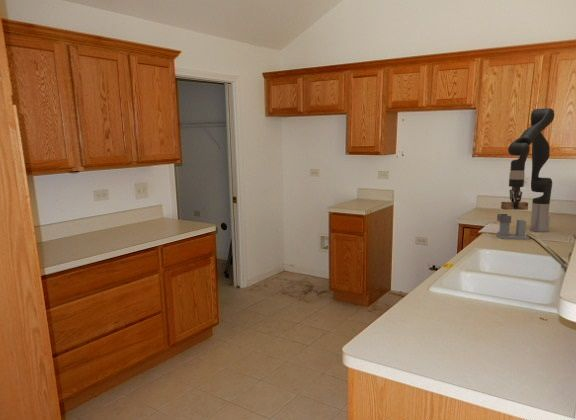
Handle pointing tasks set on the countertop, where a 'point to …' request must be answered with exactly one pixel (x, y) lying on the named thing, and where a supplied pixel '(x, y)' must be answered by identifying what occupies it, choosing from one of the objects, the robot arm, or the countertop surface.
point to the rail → (511, 206)
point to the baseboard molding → (490, 229)
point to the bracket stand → (504, 228)
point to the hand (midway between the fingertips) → (514, 208)
